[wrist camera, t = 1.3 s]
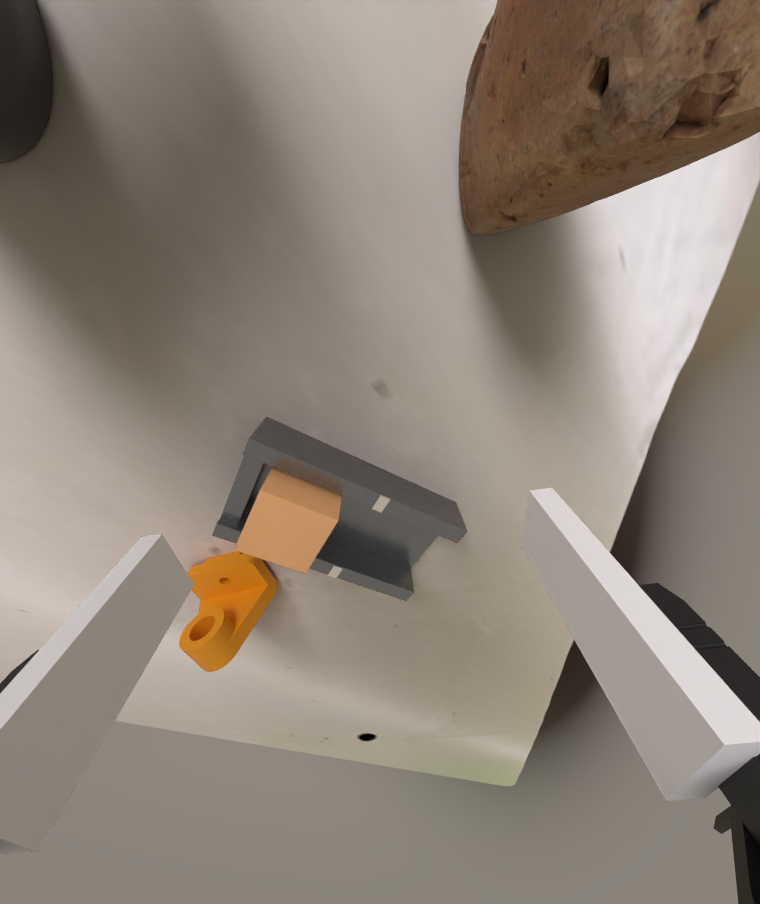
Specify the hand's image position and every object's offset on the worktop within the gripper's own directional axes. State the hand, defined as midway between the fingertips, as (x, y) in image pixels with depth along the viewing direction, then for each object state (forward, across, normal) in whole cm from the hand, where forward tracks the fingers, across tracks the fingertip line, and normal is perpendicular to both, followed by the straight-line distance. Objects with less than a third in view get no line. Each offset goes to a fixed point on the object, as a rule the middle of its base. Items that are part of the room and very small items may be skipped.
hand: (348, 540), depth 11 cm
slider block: (+22, -10, -13) cm, 28 cm away
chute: (+24, -5, -17) cm, 30 cm away
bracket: (+24, -23, -27) cm, 43 cm away
